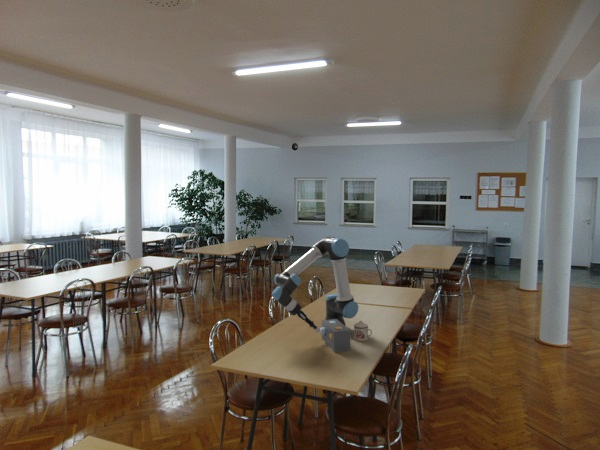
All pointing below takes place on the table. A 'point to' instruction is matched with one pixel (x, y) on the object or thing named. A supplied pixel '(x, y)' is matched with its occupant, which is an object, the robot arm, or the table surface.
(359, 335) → the teacup with lid
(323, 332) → the pale blue button
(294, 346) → the table surface
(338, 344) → the button console
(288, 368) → the table surface
